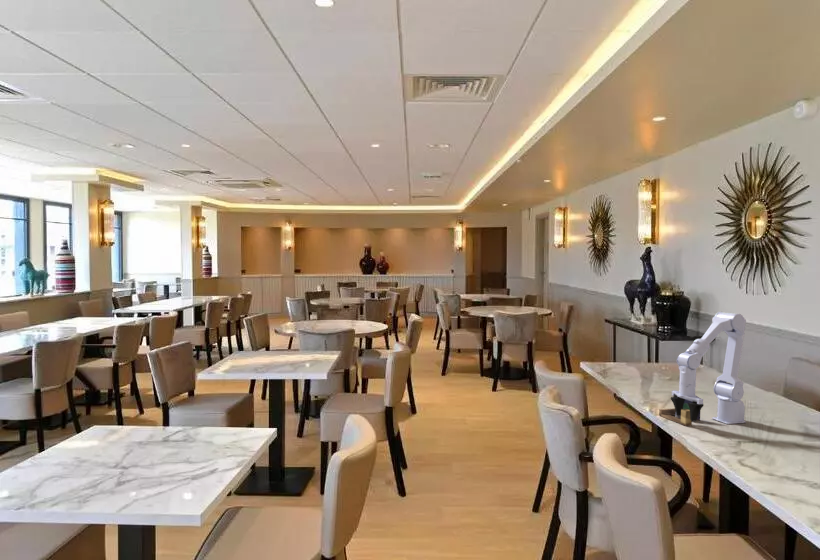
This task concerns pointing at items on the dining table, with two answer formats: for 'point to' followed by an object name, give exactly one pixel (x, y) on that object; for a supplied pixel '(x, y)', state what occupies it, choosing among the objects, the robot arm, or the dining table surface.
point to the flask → (688, 409)
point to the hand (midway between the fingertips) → (686, 417)
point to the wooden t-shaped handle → (667, 414)
